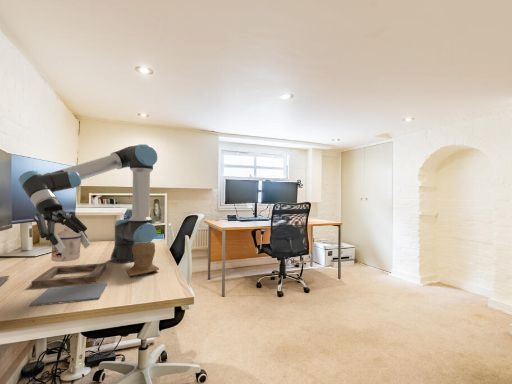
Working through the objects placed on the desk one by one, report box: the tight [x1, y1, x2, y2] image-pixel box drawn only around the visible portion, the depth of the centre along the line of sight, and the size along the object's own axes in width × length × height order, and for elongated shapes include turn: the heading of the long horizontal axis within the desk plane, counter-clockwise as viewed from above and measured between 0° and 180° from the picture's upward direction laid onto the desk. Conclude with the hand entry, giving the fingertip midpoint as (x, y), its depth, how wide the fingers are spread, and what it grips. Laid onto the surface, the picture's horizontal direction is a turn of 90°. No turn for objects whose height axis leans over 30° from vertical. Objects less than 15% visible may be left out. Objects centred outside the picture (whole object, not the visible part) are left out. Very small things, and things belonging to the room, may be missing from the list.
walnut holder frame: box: [30, 262, 107, 289], centre depth 115 cm, size 22×22×2 cm
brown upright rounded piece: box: [125, 241, 160, 277], centre depth 123 cm, size 15×12×15 cm
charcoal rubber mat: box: [28, 282, 108, 307], centre depth 96 cm, size 20×16×1 cm
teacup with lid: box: [50, 227, 81, 263], centre depth 97 cm, size 12×9×12 cm
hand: (76, 248), depth 96 cm, fingers closed on teacup with lid, 9 cm apart
